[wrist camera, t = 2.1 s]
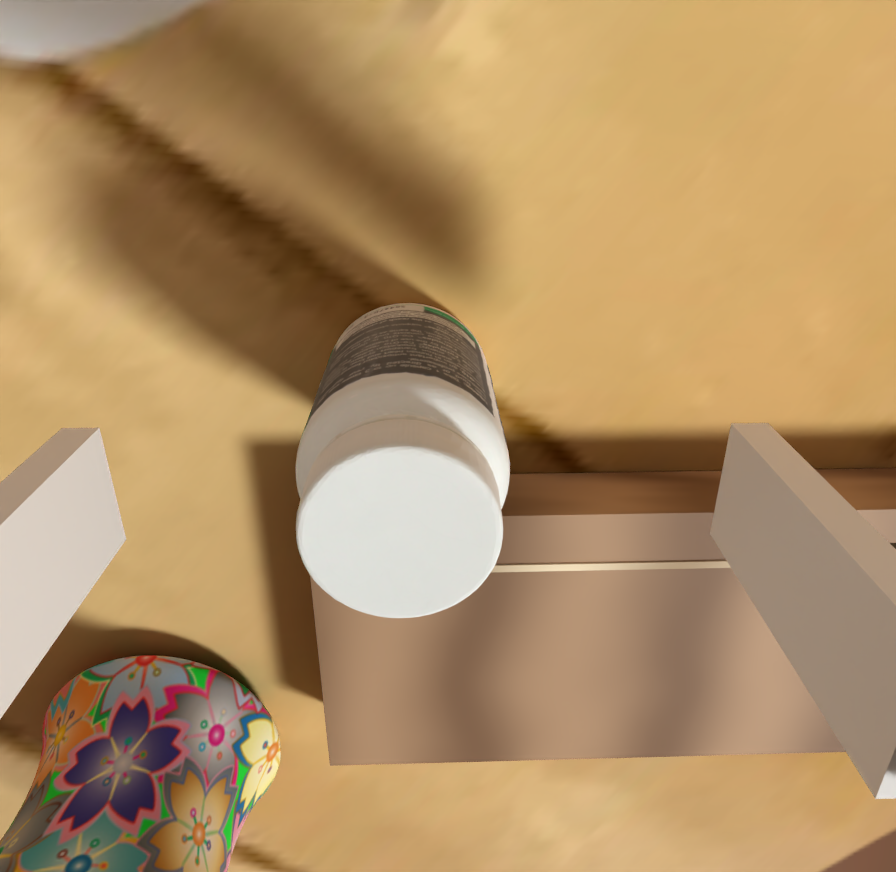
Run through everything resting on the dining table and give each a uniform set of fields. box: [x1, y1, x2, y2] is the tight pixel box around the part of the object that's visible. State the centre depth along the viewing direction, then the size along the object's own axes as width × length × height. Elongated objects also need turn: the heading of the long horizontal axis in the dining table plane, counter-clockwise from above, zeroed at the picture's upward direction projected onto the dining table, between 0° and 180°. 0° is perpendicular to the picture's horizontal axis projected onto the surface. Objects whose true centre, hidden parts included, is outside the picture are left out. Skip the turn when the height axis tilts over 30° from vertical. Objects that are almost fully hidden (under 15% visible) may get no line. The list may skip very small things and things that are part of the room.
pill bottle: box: [296, 303, 510, 618], centre depth 17 cm, size 5×5×8 cm
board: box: [310, 468, 896, 766], centre depth 23 cm, size 22×10×3 cm, turn 90°
